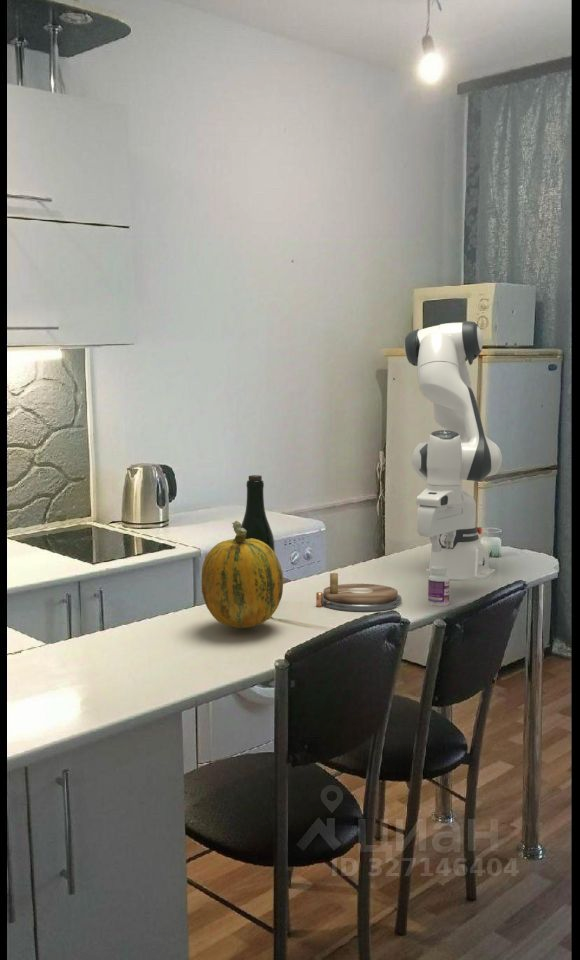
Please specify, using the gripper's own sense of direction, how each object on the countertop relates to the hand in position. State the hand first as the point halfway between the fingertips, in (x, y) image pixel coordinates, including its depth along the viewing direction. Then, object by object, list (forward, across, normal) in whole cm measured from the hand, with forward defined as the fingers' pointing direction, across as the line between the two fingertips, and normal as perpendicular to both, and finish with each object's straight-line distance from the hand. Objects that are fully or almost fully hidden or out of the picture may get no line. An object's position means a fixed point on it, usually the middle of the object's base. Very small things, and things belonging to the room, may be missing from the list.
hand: (442, 550), depth 234 cm
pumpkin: (+14, +47, -27) cm, 56 cm away
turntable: (+13, +10, -18) cm, 24 cm away
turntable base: (+14, +11, -18) cm, 25 cm away
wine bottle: (+14, +28, -38) cm, 49 cm away
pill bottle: (+14, 0, -1) cm, 14 cm away
